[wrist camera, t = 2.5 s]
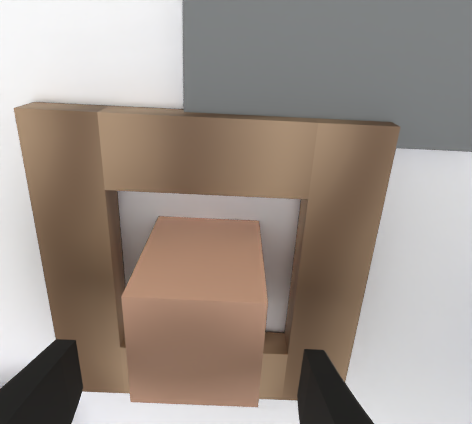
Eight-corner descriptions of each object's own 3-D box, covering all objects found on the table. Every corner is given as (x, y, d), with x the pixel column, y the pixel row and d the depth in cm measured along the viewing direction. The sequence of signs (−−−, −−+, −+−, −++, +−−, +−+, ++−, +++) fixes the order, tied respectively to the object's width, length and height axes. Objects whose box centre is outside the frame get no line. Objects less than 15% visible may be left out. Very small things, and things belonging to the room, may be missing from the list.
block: (258, 220, 17) (267, 303, 12) (252, 302, 19) (257, 407, 14) (158, 216, 17) (121, 296, 12) (162, 298, 19) (130, 401, 14)
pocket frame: (386, 119, 15) (400, 127, 14) (334, 378, 21) (340, 402, 20) (34, 102, 15) (13, 108, 14) (76, 367, 21) (65, 390, 20)
